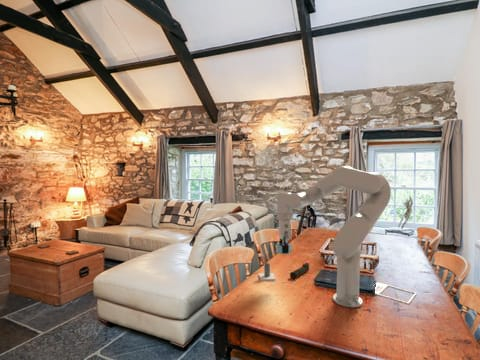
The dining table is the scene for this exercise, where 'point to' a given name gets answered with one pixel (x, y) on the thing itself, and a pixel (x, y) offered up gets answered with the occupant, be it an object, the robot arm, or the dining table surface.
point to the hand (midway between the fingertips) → (283, 250)
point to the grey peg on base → (267, 274)
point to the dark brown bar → (300, 271)
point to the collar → (279, 248)
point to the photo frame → (382, 287)
